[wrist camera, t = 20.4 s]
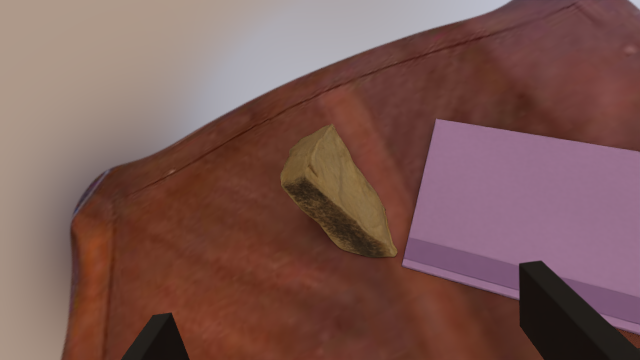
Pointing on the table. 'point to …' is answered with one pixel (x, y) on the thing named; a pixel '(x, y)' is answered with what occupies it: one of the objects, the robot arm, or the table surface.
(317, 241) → the table surface
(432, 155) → the lavender flat block
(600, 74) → the table surface
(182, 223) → the table surface
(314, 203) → the rock
